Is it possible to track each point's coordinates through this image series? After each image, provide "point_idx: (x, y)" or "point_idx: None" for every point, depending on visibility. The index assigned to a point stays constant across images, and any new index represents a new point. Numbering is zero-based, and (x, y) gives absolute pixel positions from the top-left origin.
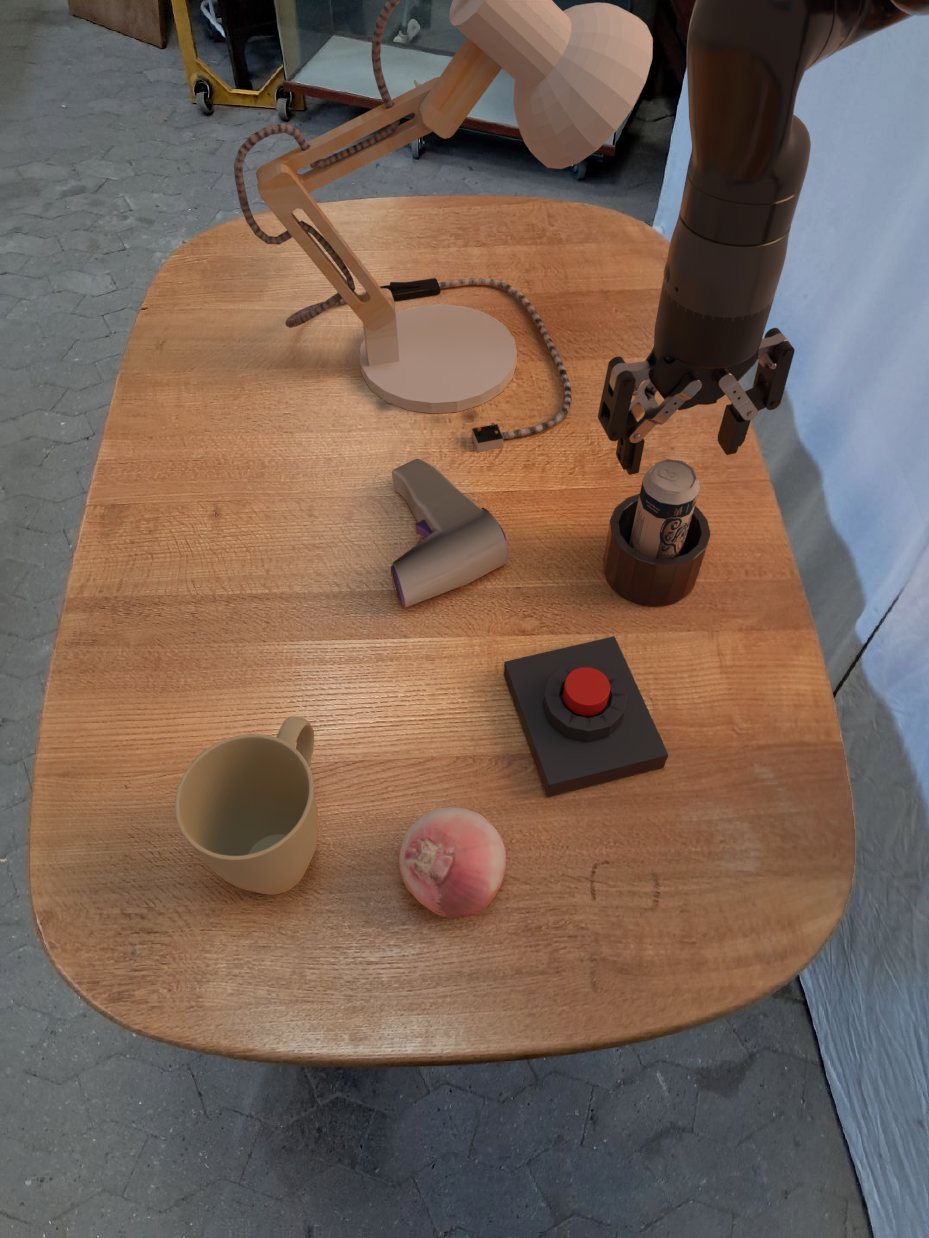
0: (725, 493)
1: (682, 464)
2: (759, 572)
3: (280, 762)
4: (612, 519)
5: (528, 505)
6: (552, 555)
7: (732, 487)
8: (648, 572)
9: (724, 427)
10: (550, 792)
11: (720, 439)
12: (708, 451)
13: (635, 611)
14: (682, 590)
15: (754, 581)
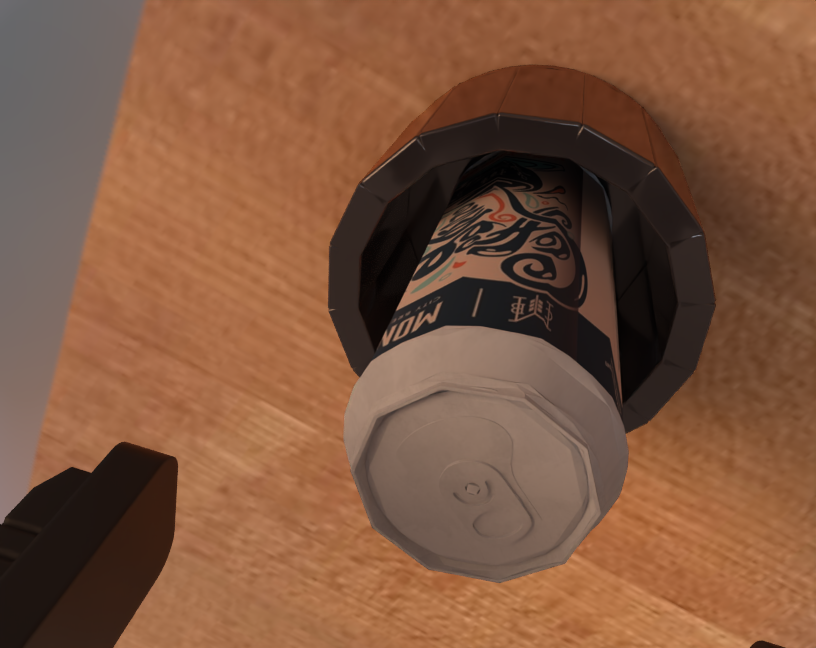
0: (171, 319)
1: (378, 509)
2: (227, 32)
3: None
4: (638, 420)
5: (667, 552)
6: (741, 403)
7: (144, 324)
8: (667, 167)
9: (102, 633)
10: None
11: (157, 556)
12: (145, 439)
13: (682, 104)
14: (525, 74)
15: (260, 8)
